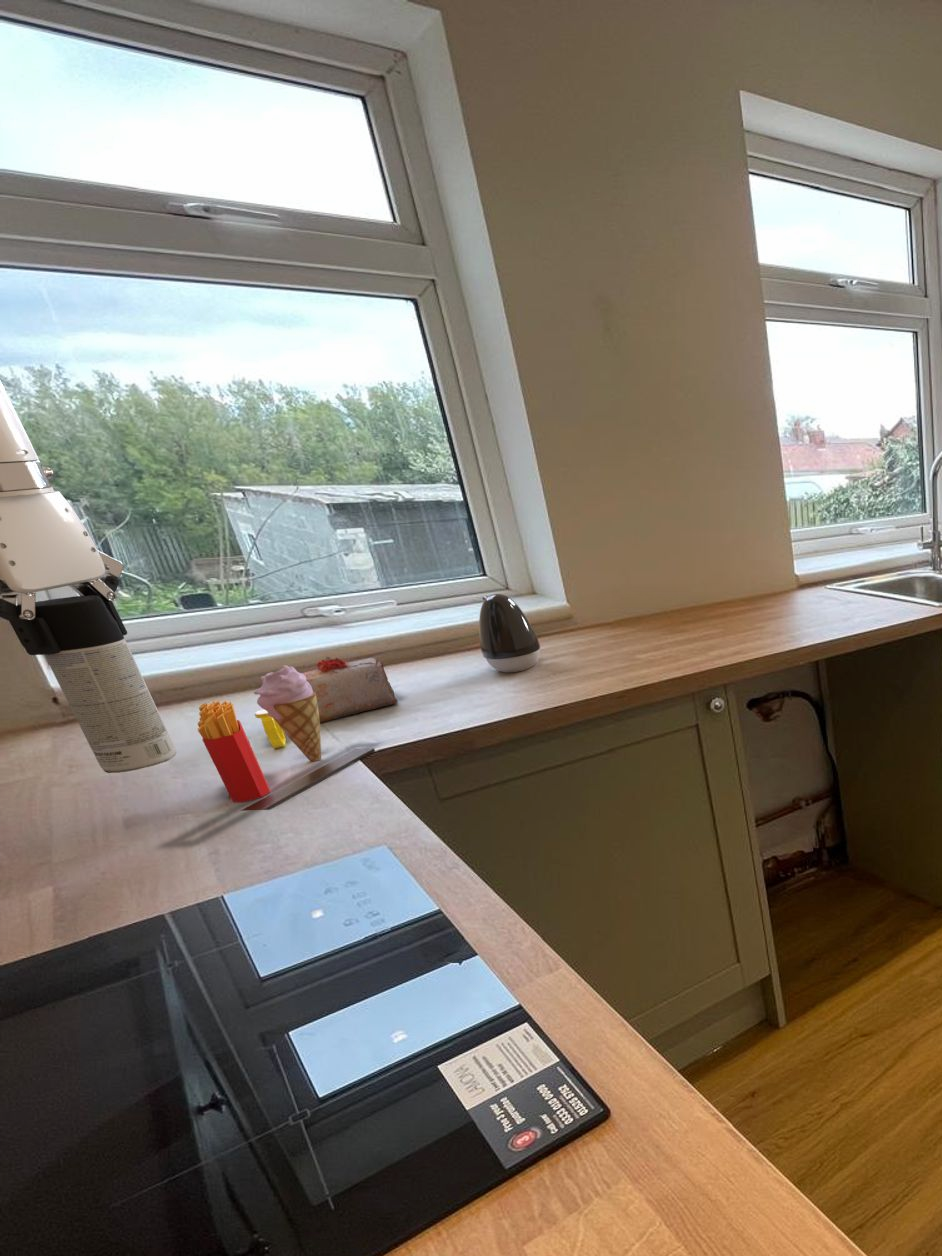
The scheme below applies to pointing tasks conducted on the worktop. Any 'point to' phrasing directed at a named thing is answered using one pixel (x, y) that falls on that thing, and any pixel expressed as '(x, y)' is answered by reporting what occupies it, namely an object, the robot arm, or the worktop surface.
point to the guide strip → (309, 780)
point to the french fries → (231, 752)
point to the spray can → (104, 685)
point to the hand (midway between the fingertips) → (79, 643)
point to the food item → (349, 687)
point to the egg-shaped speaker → (506, 635)
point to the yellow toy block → (271, 729)
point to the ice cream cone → (293, 708)
